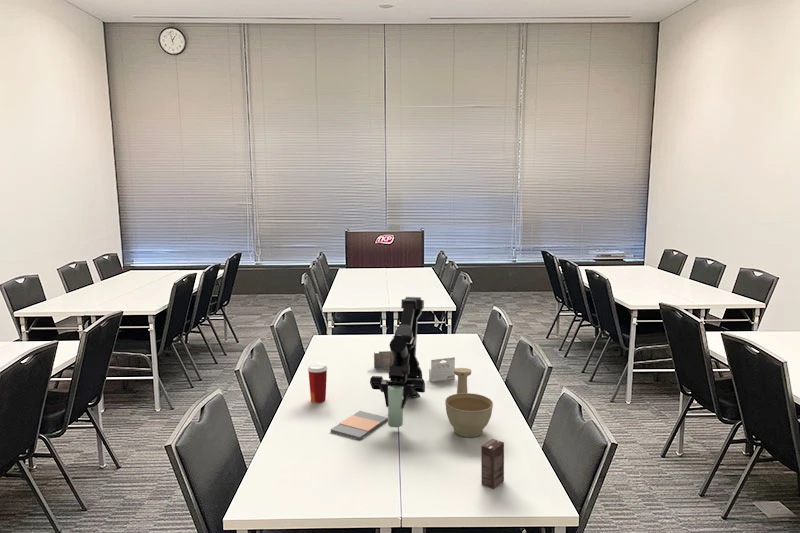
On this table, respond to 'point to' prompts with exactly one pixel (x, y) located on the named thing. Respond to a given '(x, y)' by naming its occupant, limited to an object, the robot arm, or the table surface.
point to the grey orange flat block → (359, 425)
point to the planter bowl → (468, 413)
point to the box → (492, 463)
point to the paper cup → (317, 382)
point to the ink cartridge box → (442, 369)
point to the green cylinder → (395, 406)
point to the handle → (462, 379)
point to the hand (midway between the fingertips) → (394, 407)
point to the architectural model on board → (383, 360)
